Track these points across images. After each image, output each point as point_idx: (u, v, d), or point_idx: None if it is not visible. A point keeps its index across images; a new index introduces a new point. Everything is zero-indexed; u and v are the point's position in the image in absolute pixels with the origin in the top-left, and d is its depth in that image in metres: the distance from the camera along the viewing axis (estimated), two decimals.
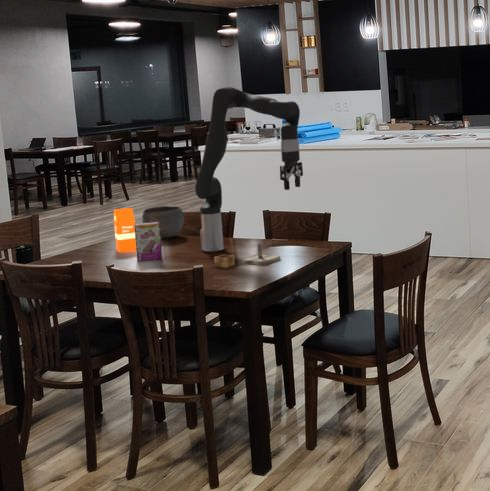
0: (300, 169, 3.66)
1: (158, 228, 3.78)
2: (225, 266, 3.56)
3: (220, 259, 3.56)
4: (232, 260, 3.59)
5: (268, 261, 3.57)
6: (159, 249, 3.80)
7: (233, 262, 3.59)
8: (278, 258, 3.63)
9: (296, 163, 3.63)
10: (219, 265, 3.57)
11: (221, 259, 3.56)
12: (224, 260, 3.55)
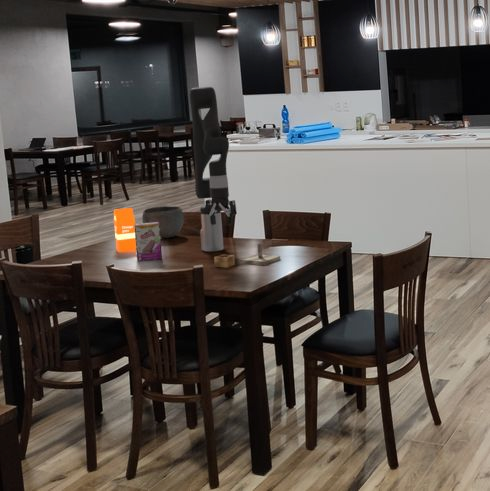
0: (210, 206, 3.59)
1: (158, 228, 3.78)
2: (225, 266, 3.56)
3: (220, 259, 3.56)
4: (232, 260, 3.59)
5: (268, 261, 3.57)
6: (159, 249, 3.80)
7: (233, 262, 3.59)
8: (278, 258, 3.63)
9: None
10: (219, 265, 3.57)
11: (221, 259, 3.56)
12: (224, 260, 3.55)
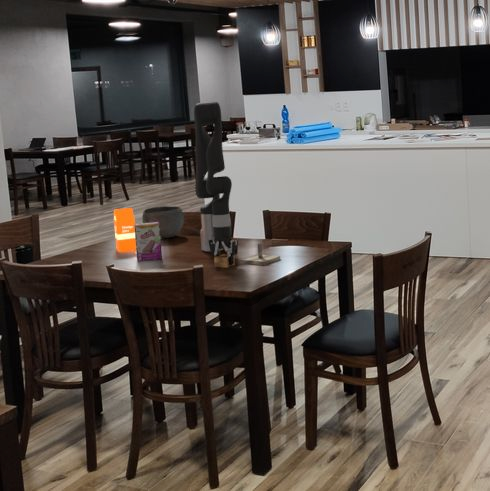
0: (214, 245, 3.62)
1: (158, 228, 3.78)
2: (225, 266, 3.56)
3: (220, 259, 3.56)
4: None
5: (268, 261, 3.57)
6: (159, 249, 3.80)
7: None
8: (278, 258, 3.63)
9: None
10: (219, 265, 3.57)
11: (221, 259, 3.56)
12: (224, 260, 3.55)
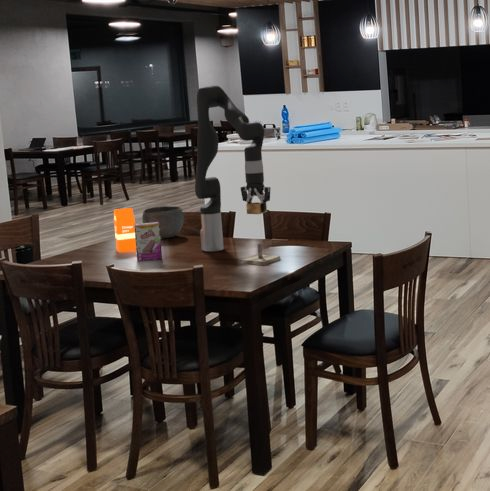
0: (246, 193, 3.61)
1: (158, 228, 3.78)
2: (257, 213, 3.55)
3: (252, 206, 3.56)
4: None
5: (268, 261, 3.57)
6: (159, 249, 3.80)
7: None
8: (278, 258, 3.63)
9: None
10: (251, 212, 3.57)
11: (253, 206, 3.56)
12: (256, 207, 3.55)
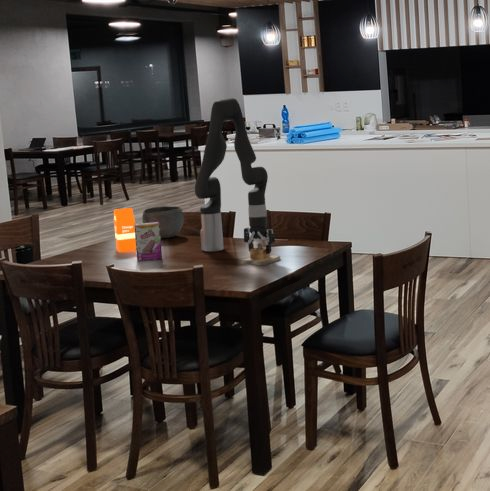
0: None
1: (158, 228, 3.78)
2: (261, 258, 3.59)
3: (256, 251, 3.60)
4: None
5: (268, 261, 3.57)
6: (159, 249, 3.80)
7: (268, 254, 3.63)
8: (278, 258, 3.63)
9: None
10: (255, 257, 3.61)
11: (257, 251, 3.59)
12: (260, 252, 3.59)
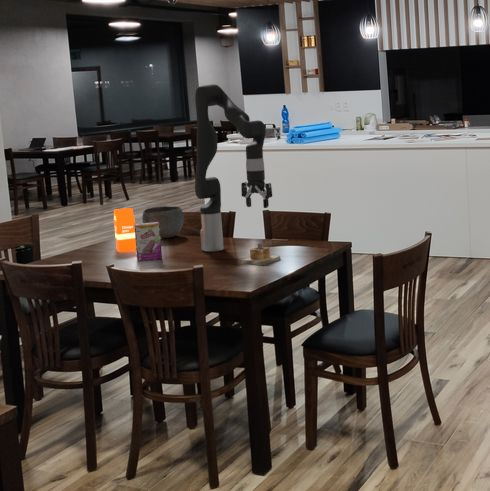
0: (246, 189, 3.65)
1: (158, 228, 3.78)
2: (261, 258, 3.59)
3: (256, 251, 3.60)
4: (268, 252, 3.62)
5: (268, 261, 3.57)
6: (159, 249, 3.80)
7: (268, 254, 3.63)
8: (278, 258, 3.63)
9: None
10: (255, 257, 3.61)
11: (257, 251, 3.59)
12: (260, 252, 3.59)
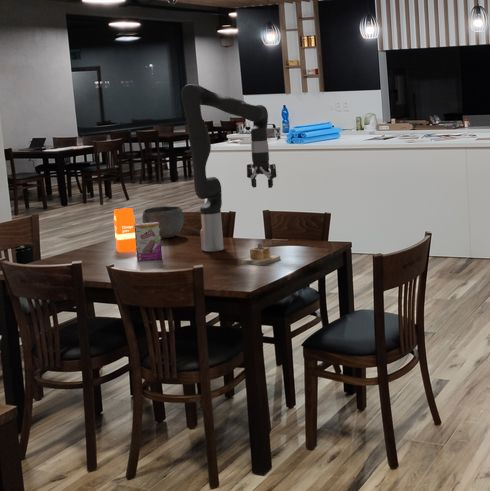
0: (251, 170, 3.85)
1: (158, 228, 3.78)
2: (261, 258, 3.59)
3: (256, 251, 3.60)
4: (268, 252, 3.62)
5: (268, 261, 3.57)
6: (159, 249, 3.80)
7: (268, 254, 3.63)
8: (278, 258, 3.63)
9: None
10: (255, 257, 3.61)
11: (257, 251, 3.59)
12: (260, 252, 3.59)
